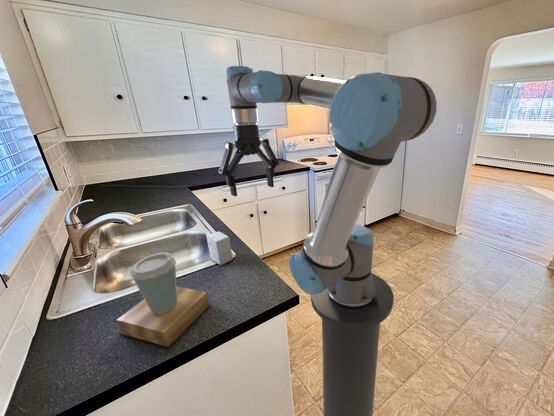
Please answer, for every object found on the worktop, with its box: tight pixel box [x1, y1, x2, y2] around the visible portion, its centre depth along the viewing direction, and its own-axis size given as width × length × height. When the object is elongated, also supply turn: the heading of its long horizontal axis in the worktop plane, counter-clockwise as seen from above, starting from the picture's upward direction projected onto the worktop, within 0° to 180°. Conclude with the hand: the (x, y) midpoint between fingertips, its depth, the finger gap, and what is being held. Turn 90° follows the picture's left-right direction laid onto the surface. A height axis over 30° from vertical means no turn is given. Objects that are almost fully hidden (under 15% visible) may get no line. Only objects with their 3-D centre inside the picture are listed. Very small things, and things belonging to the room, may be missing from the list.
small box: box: [205, 231, 234, 266], centre depth 106 cm, size 8×6×10 cm
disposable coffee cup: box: [129, 252, 178, 314], centre depth 74 cm, size 11×11×15 cm
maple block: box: [116, 285, 210, 348], centre depth 77 cm, size 16×16×5 cm
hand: (253, 190), depth 89 cm, fingers open, 13 cm apart
